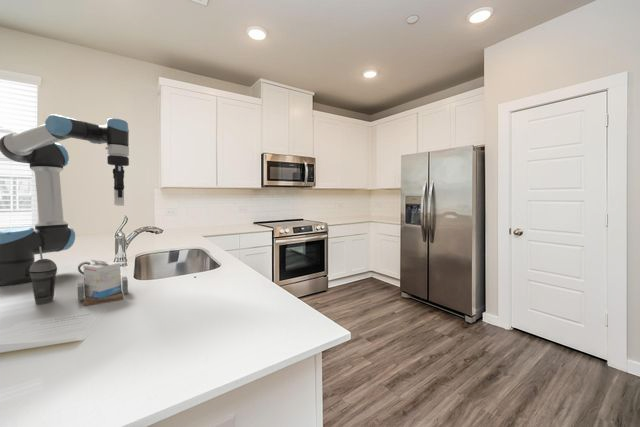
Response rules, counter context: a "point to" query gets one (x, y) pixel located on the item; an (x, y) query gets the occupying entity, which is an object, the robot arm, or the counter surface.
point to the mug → (81, 265)
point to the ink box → (102, 279)
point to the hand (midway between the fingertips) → (119, 205)
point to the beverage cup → (43, 279)
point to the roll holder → (105, 299)
